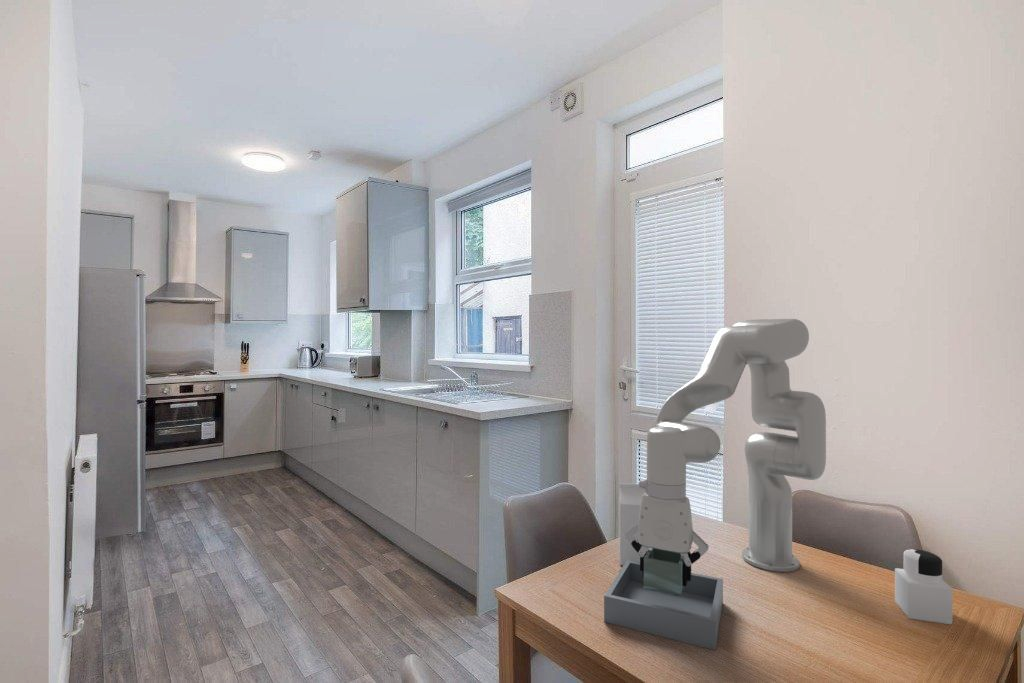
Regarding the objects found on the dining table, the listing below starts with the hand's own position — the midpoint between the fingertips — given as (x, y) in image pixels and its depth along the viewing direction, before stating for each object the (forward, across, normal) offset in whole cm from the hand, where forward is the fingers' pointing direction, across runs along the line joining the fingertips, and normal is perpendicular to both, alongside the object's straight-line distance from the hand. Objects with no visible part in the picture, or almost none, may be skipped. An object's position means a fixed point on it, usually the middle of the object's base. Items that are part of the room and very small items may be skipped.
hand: (665, 578), depth 101 cm
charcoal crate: (+7, 0, 0) cm, 7 cm away
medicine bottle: (+7, +46, +23) cm, 52 cm away
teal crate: (+1, 0, 0) cm, 1 cm away
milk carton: (+7, -11, +21) cm, 25 cm away
